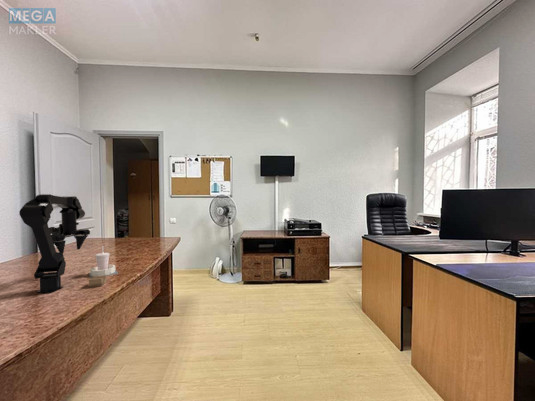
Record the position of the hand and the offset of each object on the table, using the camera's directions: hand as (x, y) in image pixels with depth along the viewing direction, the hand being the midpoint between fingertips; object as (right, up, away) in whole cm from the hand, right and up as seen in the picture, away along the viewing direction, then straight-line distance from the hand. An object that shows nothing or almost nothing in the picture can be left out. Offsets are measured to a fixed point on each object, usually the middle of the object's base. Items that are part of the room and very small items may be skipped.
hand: (70, 251), depth 121 cm
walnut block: (+22, -13, -11) cm, 28 cm away
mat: (+13, -13, +5) cm, 19 cm away
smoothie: (+13, -12, +5) cm, 19 cm away
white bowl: (+13, -13, +5) cm, 19 cm away
